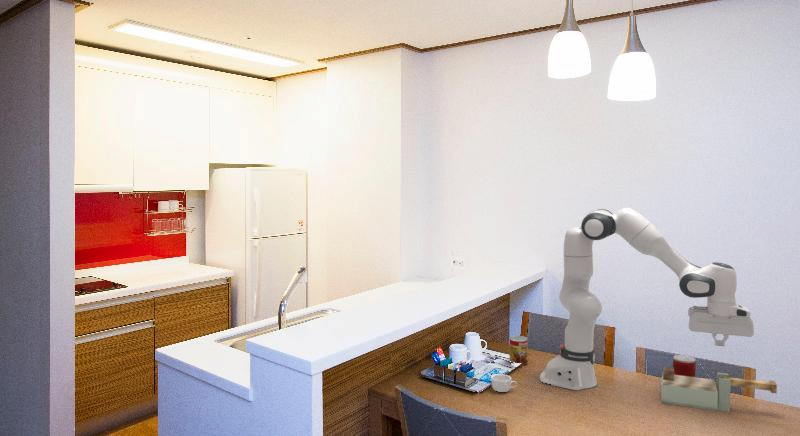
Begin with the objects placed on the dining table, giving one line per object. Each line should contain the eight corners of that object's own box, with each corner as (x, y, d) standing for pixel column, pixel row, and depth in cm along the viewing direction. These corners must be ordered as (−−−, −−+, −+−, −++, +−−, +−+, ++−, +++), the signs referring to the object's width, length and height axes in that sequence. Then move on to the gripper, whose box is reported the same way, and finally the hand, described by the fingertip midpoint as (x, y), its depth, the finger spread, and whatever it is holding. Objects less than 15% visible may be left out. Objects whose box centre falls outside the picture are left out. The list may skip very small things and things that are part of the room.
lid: (663, 384, 201) (663, 372, 200) (662, 376, 209) (662, 364, 209) (716, 392, 194) (717, 379, 193) (713, 382, 202) (714, 370, 201)
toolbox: (661, 402, 202) (662, 372, 201) (660, 393, 210) (661, 364, 209) (730, 412, 193) (731, 381, 192) (726, 402, 201) (727, 372, 200)
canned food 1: (524, 368, 238) (524, 342, 237) (507, 365, 242) (507, 339, 241) (529, 363, 245) (529, 337, 244) (512, 360, 249) (512, 334, 248)
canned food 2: (697, 389, 214) (698, 361, 213) (675, 387, 215) (676, 360, 214) (691, 381, 221) (692, 355, 220) (670, 380, 223) (670, 354, 222)
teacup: (490, 393, 213) (490, 380, 212) (492, 386, 220) (492, 373, 220) (516, 396, 210) (516, 382, 210) (517, 388, 218) (517, 375, 217)
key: (724, 386, 195) (725, 378, 194) (723, 382, 198) (723, 374, 198) (776, 393, 188) (776, 385, 188) (774, 389, 192) (774, 380, 192)
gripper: (688, 307, 196) (687, 344, 197) (755, 312, 188) (753, 351, 189) (687, 303, 202) (686, 339, 203) (752, 308, 193) (750, 346, 195)
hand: (719, 345), depth 196 cm, fingers closed
